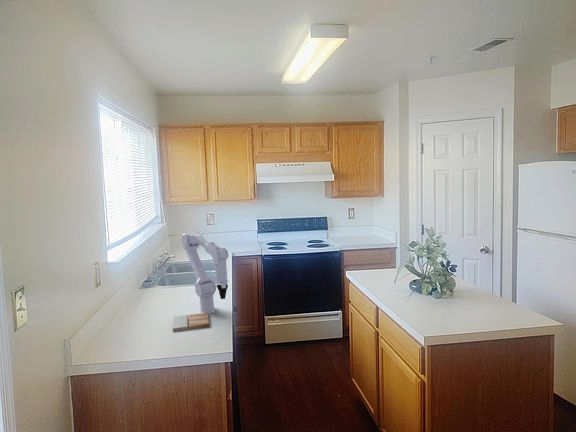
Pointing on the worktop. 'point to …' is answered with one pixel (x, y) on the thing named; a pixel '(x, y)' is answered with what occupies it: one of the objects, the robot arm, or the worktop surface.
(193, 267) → the robot arm
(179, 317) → the floor board
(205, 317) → the tan flat block
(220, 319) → the worktop surface
